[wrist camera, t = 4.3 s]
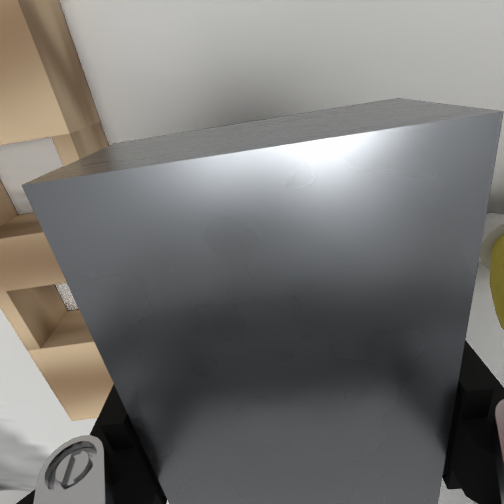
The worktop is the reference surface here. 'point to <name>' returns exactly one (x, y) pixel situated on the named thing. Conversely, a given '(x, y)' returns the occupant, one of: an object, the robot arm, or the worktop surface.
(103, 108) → the worktop surface
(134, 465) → the robot arm
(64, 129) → the light brown long block
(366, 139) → the brushed steel slab
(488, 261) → the light bulb
